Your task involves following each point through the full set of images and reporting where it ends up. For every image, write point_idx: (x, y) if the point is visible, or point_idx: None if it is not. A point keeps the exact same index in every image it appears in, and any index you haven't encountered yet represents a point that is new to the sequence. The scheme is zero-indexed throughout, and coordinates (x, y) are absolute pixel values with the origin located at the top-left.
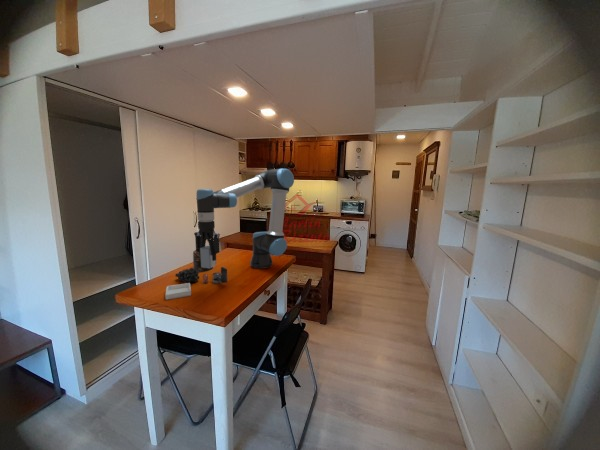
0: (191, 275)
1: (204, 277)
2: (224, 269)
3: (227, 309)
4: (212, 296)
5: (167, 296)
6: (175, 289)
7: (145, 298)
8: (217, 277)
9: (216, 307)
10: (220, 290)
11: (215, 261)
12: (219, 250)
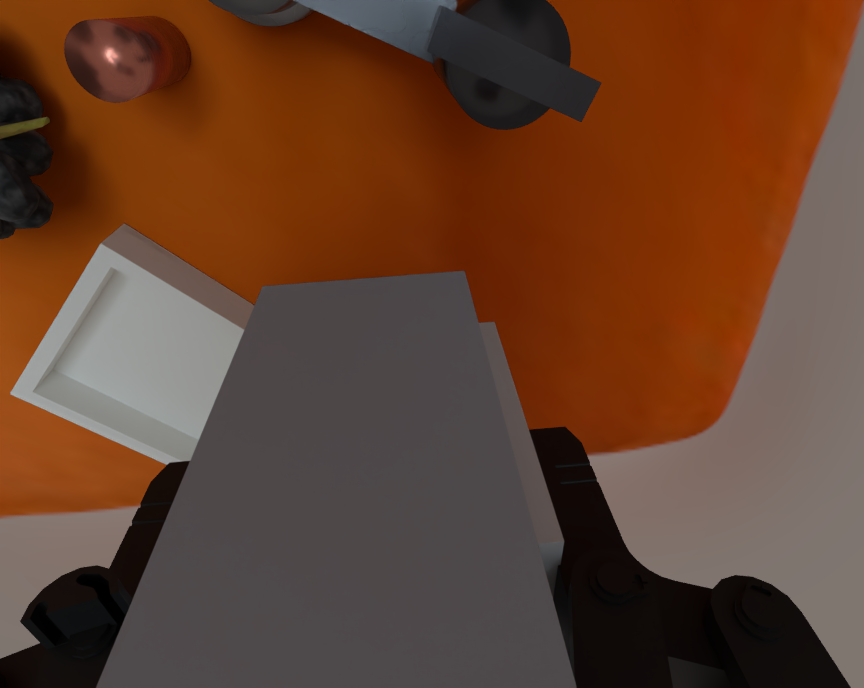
0: (6, 220)
1: (139, 95)
2: (552, 107)
3: (708, 369)
4: (488, 276)
5: None
6: (84, 337)
7: (70, 487)
8: (318, 10)
9: (621, 380)
10: (477, 142)
11: (475, 327)
12: (828, 658)
